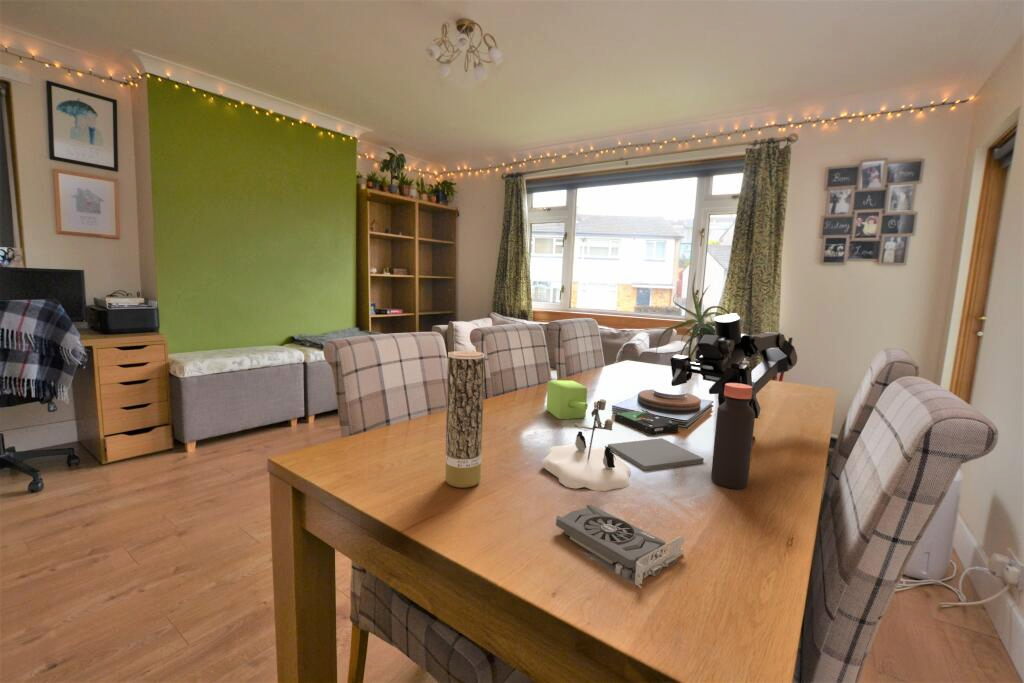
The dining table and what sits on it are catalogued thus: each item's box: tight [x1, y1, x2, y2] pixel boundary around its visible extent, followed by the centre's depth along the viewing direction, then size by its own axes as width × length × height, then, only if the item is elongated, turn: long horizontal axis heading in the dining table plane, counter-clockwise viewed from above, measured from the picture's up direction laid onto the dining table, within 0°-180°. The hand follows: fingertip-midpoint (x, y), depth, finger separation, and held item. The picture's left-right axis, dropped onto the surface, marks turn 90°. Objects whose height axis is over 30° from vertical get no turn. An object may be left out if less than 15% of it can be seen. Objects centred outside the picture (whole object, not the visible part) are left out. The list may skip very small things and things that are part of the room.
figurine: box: [541, 399, 632, 492], centre depth 96 cm, size 20×18×16 cm
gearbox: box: [546, 379, 589, 420], centre depth 138 cm, size 18×10×10 cm, turn 16°
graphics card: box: [555, 504, 685, 589], centre depth 70 cm, size 17×4×12 cm
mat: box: [607, 437, 704, 472], centre depth 108 cm, size 16×14×1 cm
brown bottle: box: [710, 383, 756, 490], centre depth 93 cm, size 7×7×20 cm
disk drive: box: [614, 409, 680, 436], centre depth 131 cm, size 10×3×15 cm
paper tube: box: [444, 350, 485, 489], centre depth 88 cm, size 7×7×25 cm
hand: (690, 387), depth 106 cm, fingers open, 9 cm apart
